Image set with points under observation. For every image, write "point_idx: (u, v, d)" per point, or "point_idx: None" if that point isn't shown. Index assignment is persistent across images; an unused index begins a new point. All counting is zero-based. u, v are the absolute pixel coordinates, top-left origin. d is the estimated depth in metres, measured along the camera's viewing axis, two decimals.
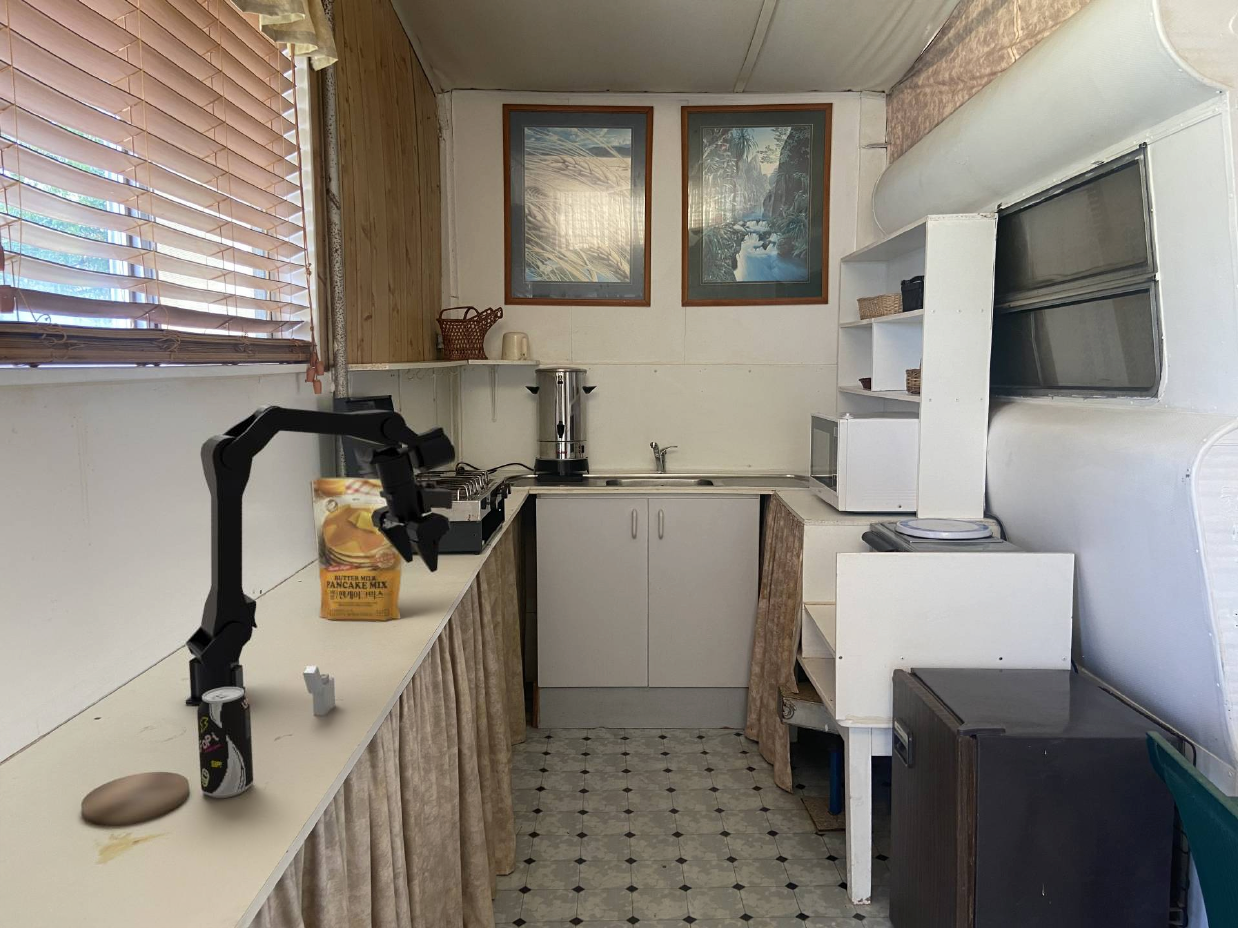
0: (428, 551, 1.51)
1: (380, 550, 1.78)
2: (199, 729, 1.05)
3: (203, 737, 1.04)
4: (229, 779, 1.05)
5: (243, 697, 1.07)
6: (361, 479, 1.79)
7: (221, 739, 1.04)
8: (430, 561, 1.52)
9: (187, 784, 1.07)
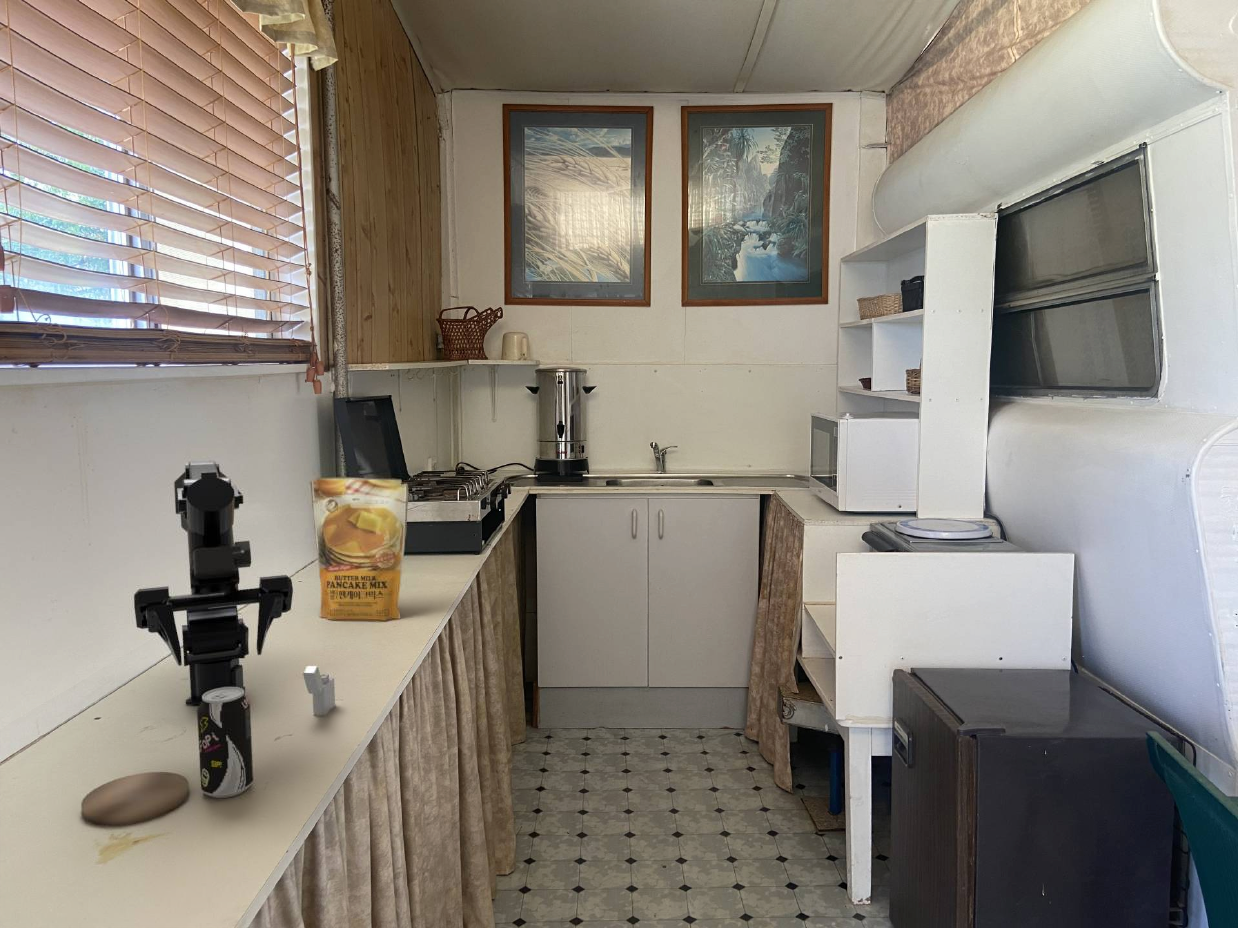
0: (168, 638, 1.14)
1: (380, 550, 1.78)
2: (199, 729, 1.05)
3: (203, 737, 1.04)
4: (229, 779, 1.05)
5: (243, 697, 1.07)
6: (361, 479, 1.79)
7: (221, 739, 1.04)
8: (171, 651, 1.13)
9: (187, 784, 1.07)
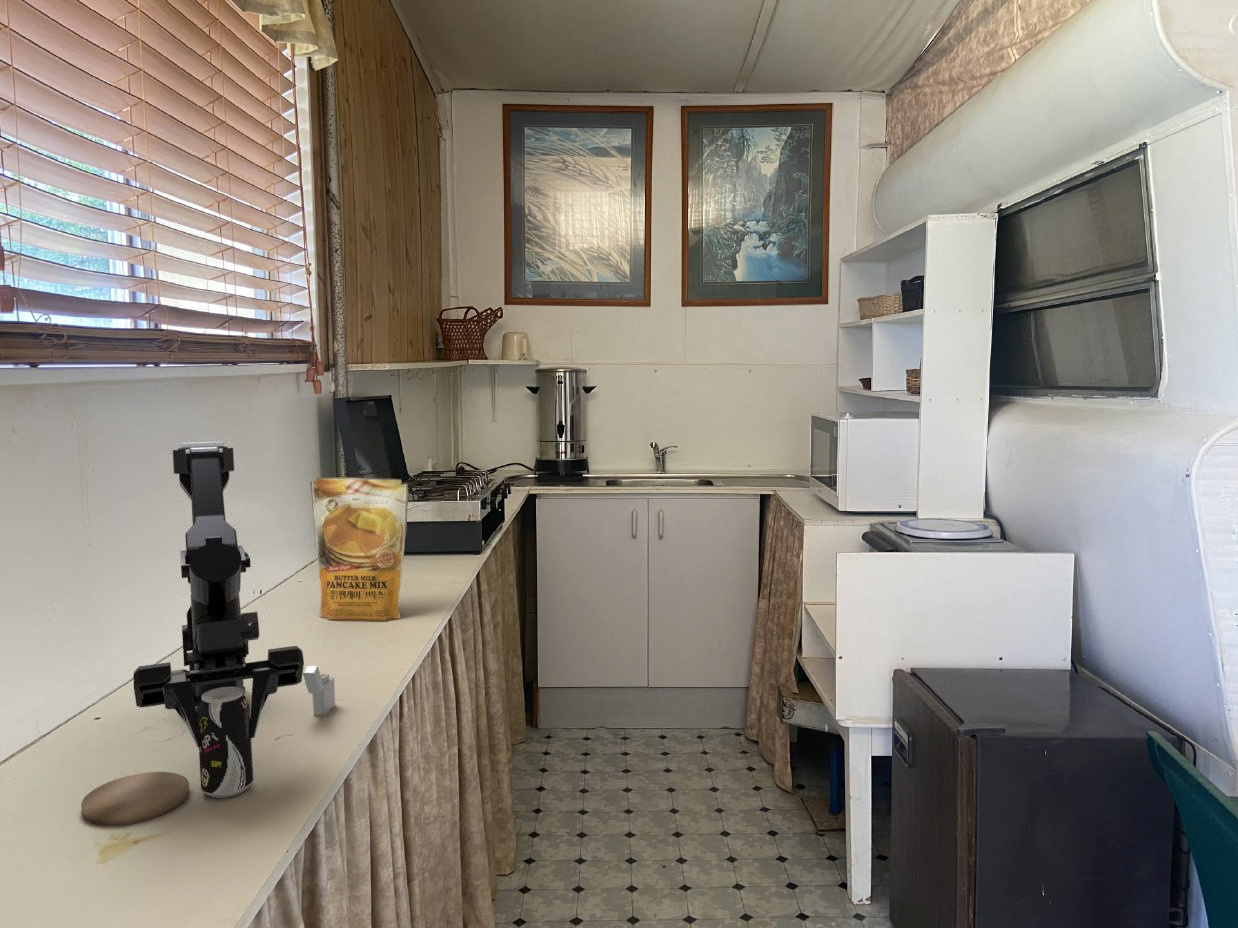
0: (186, 716, 1.07)
1: (380, 550, 1.78)
2: (199, 729, 1.05)
3: (202, 737, 1.04)
4: (229, 779, 1.05)
5: (242, 697, 1.07)
6: (361, 479, 1.79)
7: (220, 739, 1.04)
8: (190, 731, 1.06)
9: (187, 784, 1.07)
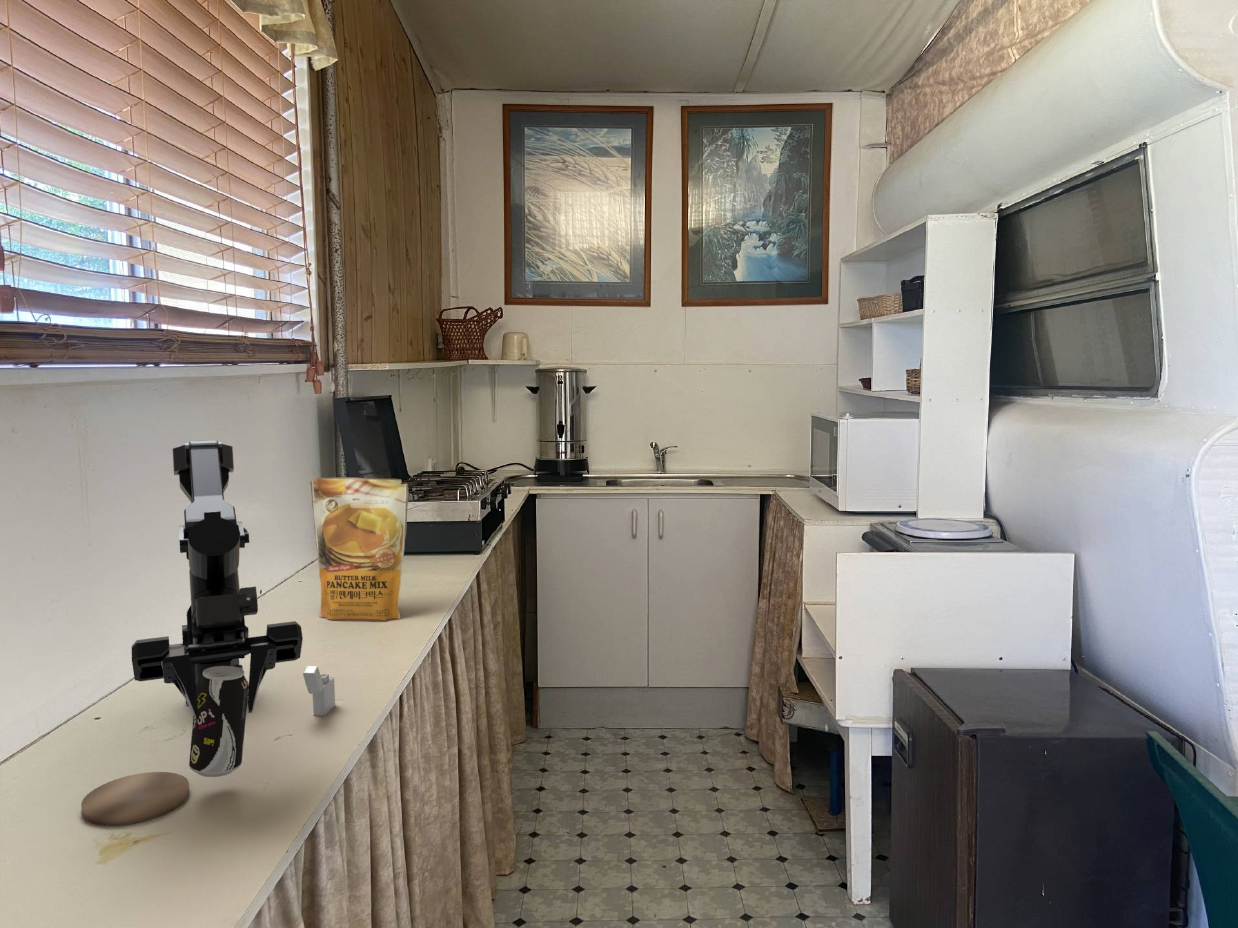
0: (185, 690, 1.06)
1: (380, 550, 1.78)
2: (196, 705, 1.04)
3: (198, 713, 1.04)
4: (219, 758, 1.04)
5: (243, 677, 1.07)
6: (361, 479, 1.79)
7: (216, 717, 1.04)
8: (189, 705, 1.05)
9: (187, 784, 1.07)
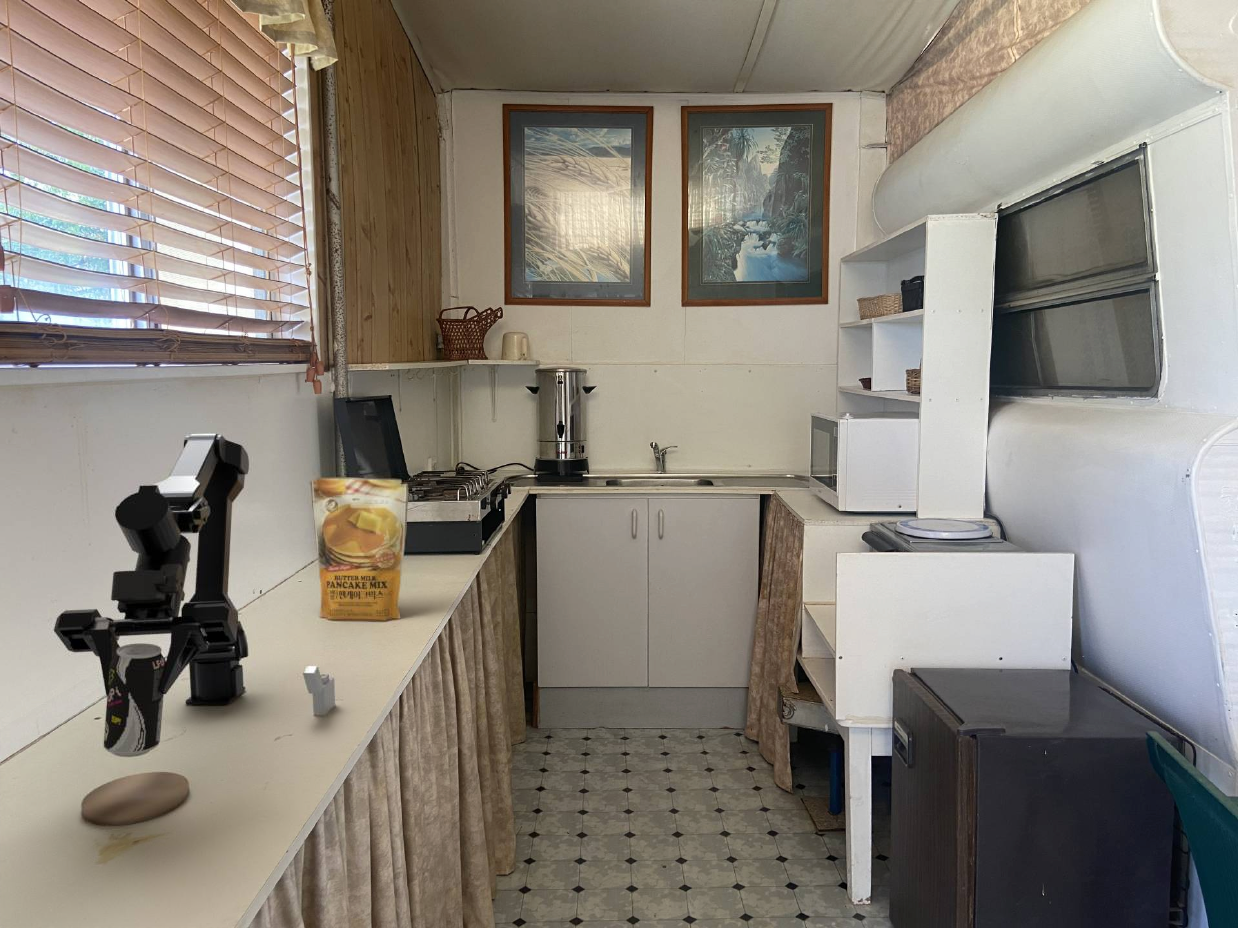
0: None
1: (380, 550, 1.78)
2: None
3: (109, 690, 1.02)
4: (126, 739, 1.01)
5: (157, 657, 1.03)
6: (361, 479, 1.79)
7: (123, 695, 1.01)
8: None
9: (187, 784, 1.07)
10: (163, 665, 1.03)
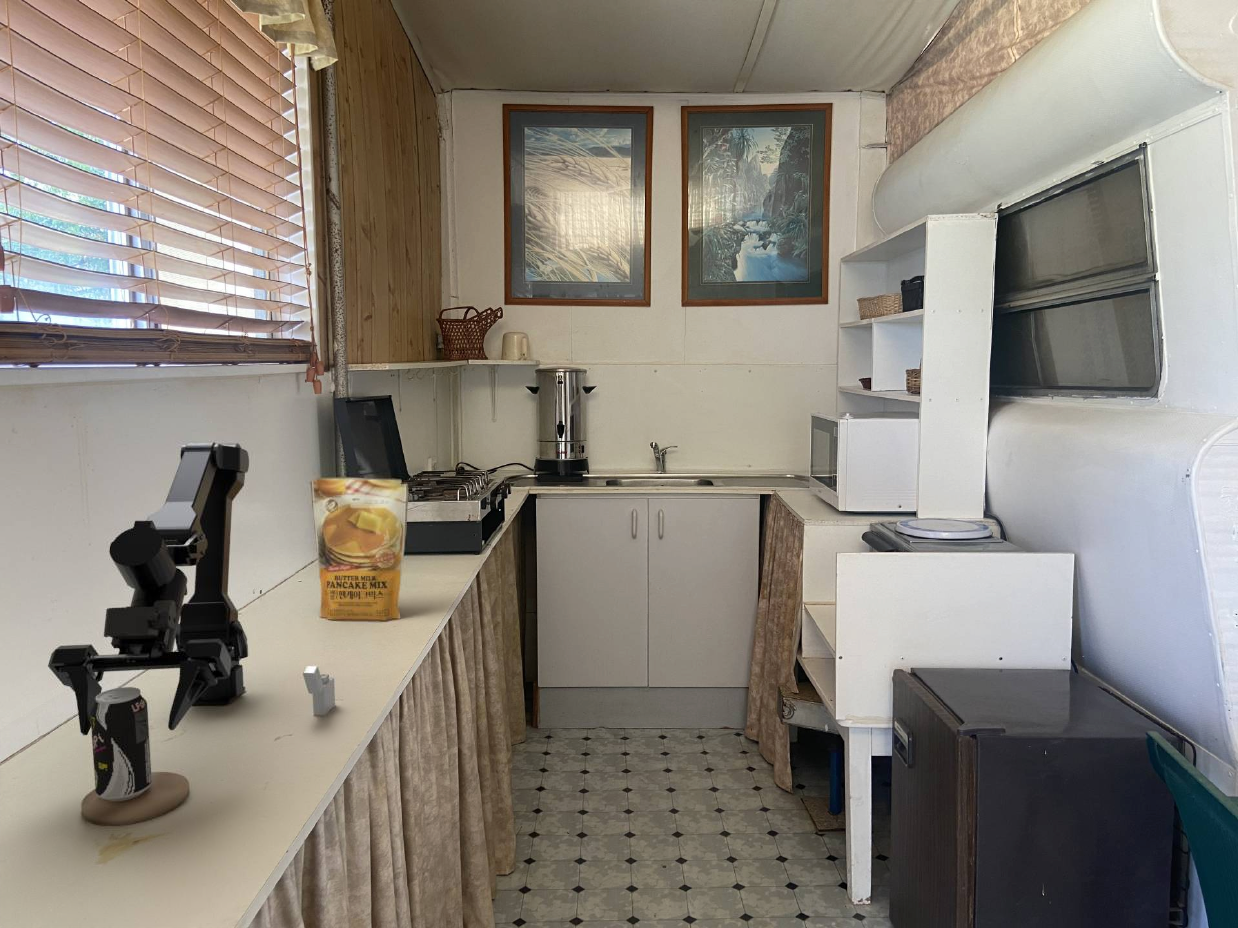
0: None
1: (380, 550, 1.78)
2: None
3: (92, 737, 1.02)
4: (115, 783, 1.02)
5: (136, 700, 1.03)
6: (361, 479, 1.79)
7: (106, 741, 1.01)
8: None
9: (187, 784, 1.07)
10: (143, 707, 1.04)
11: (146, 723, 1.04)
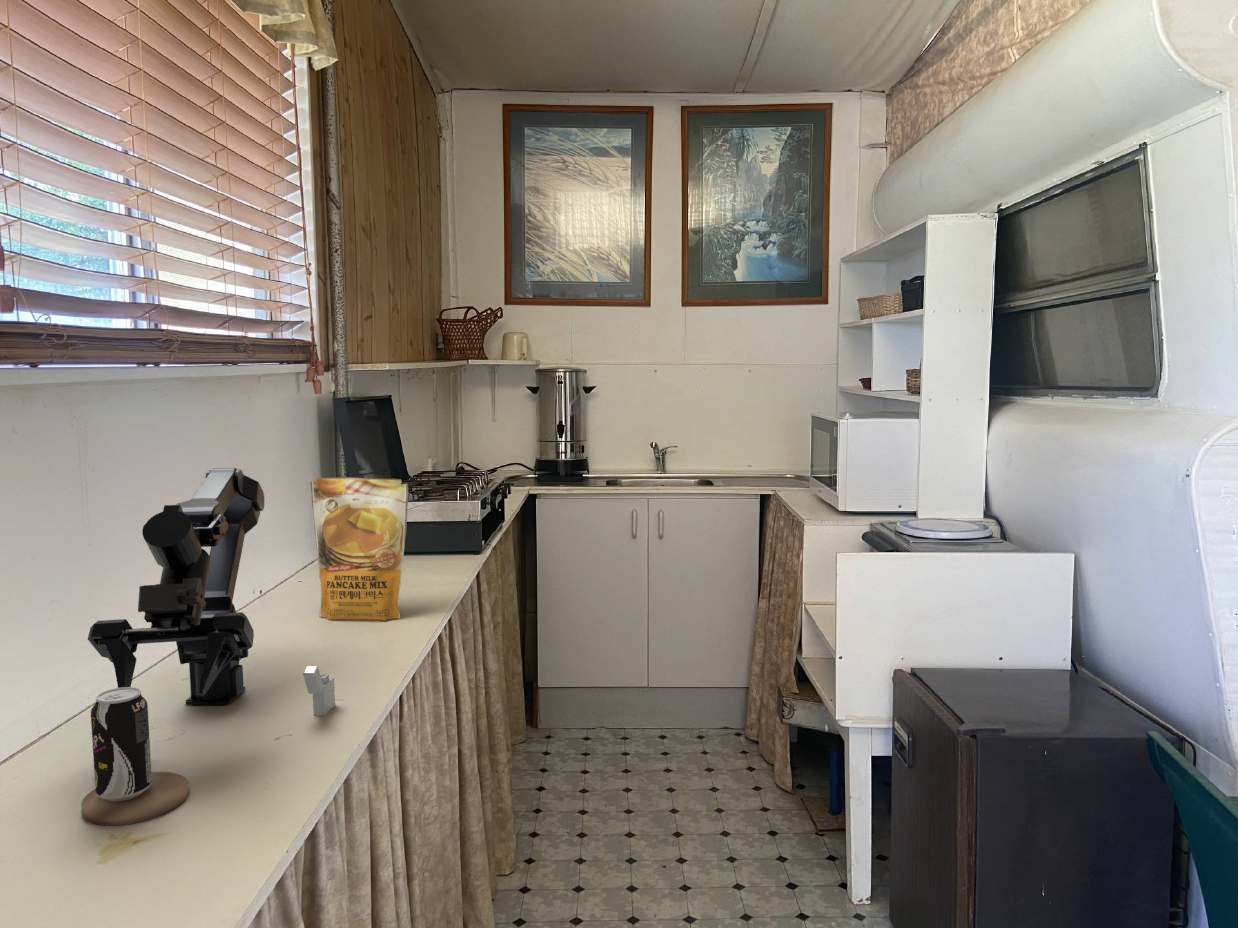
0: None
1: (380, 550, 1.78)
2: None
3: (92, 737, 1.02)
4: (115, 783, 1.02)
5: (136, 700, 1.03)
6: (361, 479, 1.79)
7: (106, 741, 1.01)
8: None
9: (187, 784, 1.07)
10: (144, 707, 1.04)
11: (146, 723, 1.04)
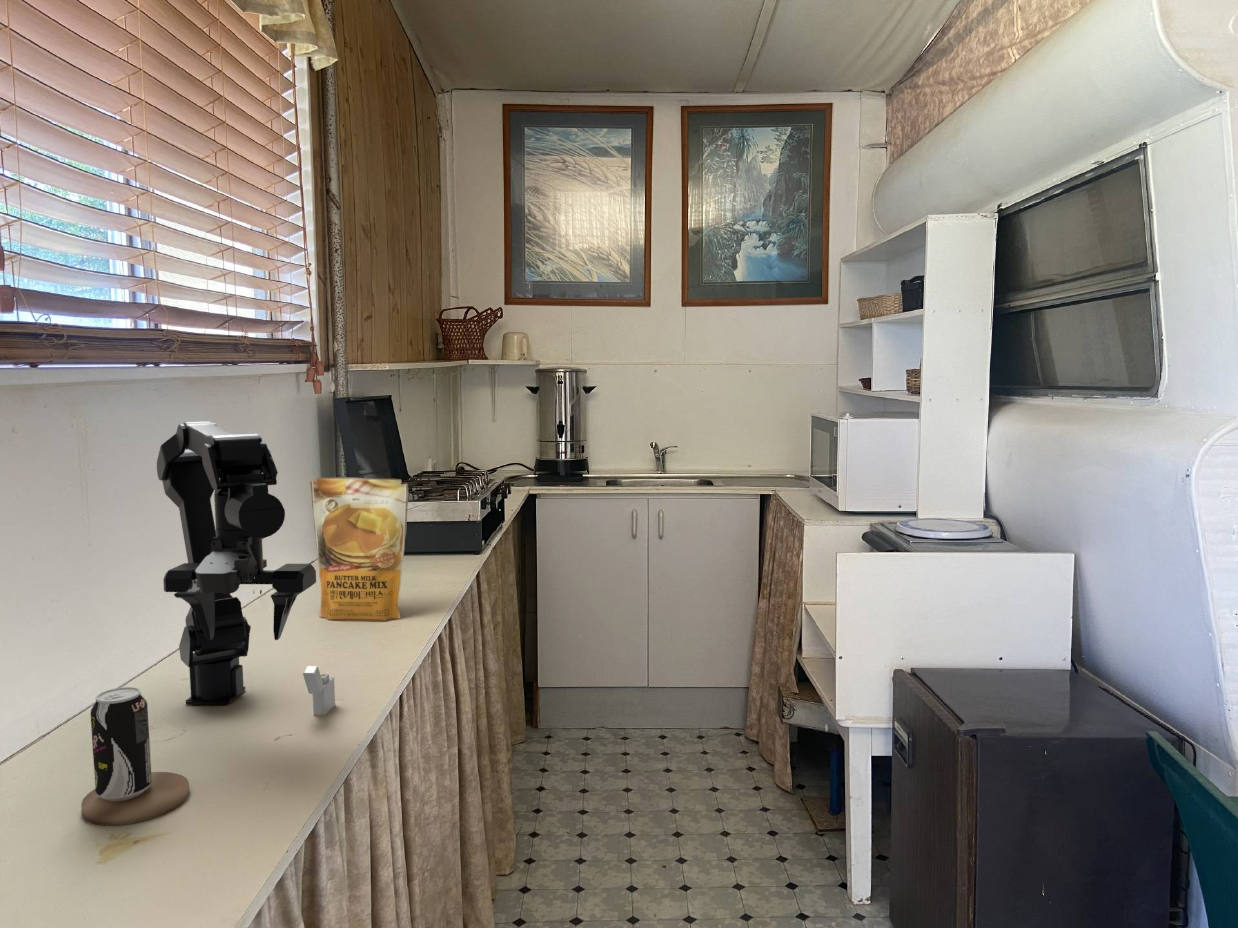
0: None
1: (380, 550, 1.78)
2: (91, 728, 1.03)
3: (92, 737, 1.02)
4: (115, 783, 1.02)
5: (136, 700, 1.03)
6: (361, 479, 1.79)
7: (106, 741, 1.01)
8: None
9: (187, 784, 1.07)
10: (143, 707, 1.04)
11: (146, 723, 1.04)
